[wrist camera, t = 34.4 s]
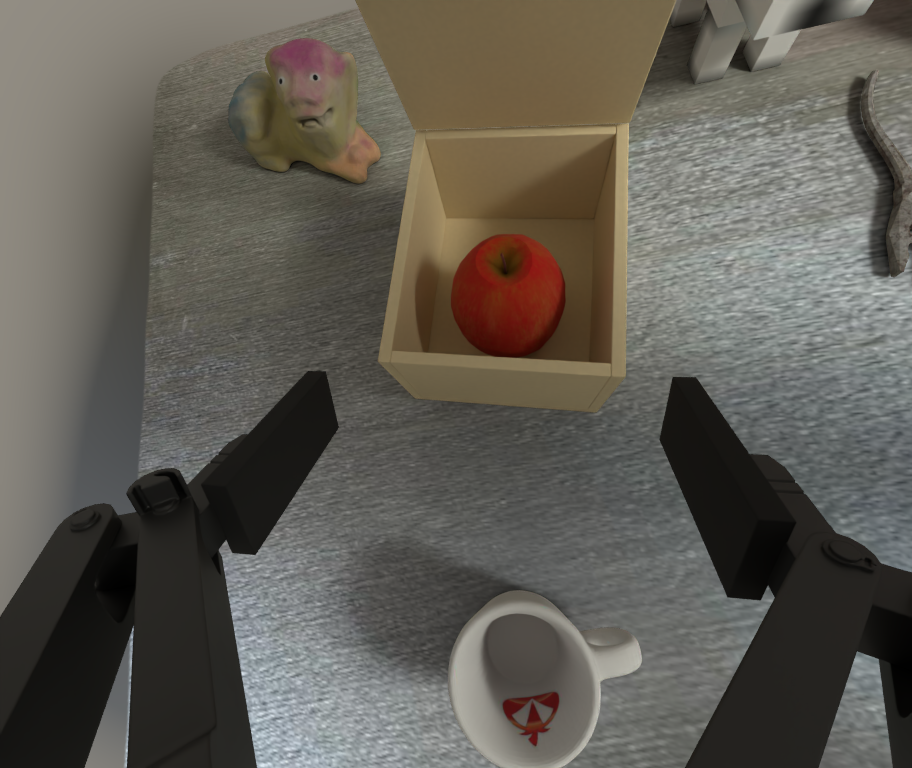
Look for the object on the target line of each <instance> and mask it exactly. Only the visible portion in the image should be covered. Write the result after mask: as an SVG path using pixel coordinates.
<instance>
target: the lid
mask: <svg viewBox="0 0 912 768" xmlns="http://www.w3.org/2000/svg"><path fill="white" fill-rule="evenodd" d="M355 1H356V3H357V5H358V7H359V10H360V12H361V14H362V16H363V18H364V21H365V23H366V25H367V27H368V29H369V32H370V34H371V36H372V38H373V40H374V43H375V45H376V47H377V49H378V51H379V54H380V56H381V58H382V60H383V62H384V65H385V67H386V69H387V71H388V73H389V76H390V78H391V80H392V82H393V84H394V87H395V89H396V91H397V93H398V95H399V98H400V100H401V102H402V104H403V106H404V109H405V111H406V113H407V115H408V117H409V120H410V122H411V124H412V126H413V128H414V130H423V129H453V128H484V127H514V126H545V125H575V124H605V123H630V121H631V119H632V116H633V113H634V111H635V108H636V105H637V103H638V100H639V97H640V95H641V92H642V90H643V87H644V84H645V82H646V79H647V76H648V74H649V71H650V68H651V66H652V63H653V61H654V58H655V55H656V53H657V50H658V47H659V45H660V42H661V40H662V37H663V34H664V32H665V29H666V26H667V24H668V21H669V18H670V16H671V13H672V11H673V8H674V5H675V3H676V0H355Z"/></svg>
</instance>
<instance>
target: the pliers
mask: <svg viewBox="0 0 912 768" xmlns="http://www.w3.org/2000/svg"><path fill="white" fill-rule="evenodd" d="M878 74H879V72H878V70H875V71H872V72H871V74H870V75H869V76H868V78H867V80H866V82H865V85H864V88H863V92H862V98H861V111H862V118H863V122H864V125H865V128H866V130H867V132H868V134H869V136H870V138H871V140H872V141H873V143H874V145H875V146H876V148H877V149H878V151H879V152H880V154H881V156H882V157H883V159H884V160H885V162H886V164H887V165H888V167H889V169H890V171H891V173H892V176H893V178H894V183H895V190H894V191H893V202H894V207H893V209H892V212H891V215H890V219H889V224H888V228H887V233H886V244H887V252H888V259H889V267H890V275H891V277H896V276H897V275H899V274H900V273H902V272H904V269H905V266H906V263H907V261H908V258H909V253H908V250H907V249H908V246H909V244H911V243H912V233H910V230H911V229H912V170H911V168H910V166H909V164H908V163H907V162H906V160H905V159H904V157H903V156H902V154H901V153H900V152H899V151H898V149H897V148H896V147H895V145H894V144H893V143H892V141H891V140H890V139H889V138H888V136H887V135H886V133H885V132H884V130H883V129H882V127H881V126H880V124H879V122H878V120H877V117H876V115H875V111H874V105H873V92H874V86H875V83H876V80H877V77H878Z"/></svg>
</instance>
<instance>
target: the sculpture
mask: <svg viewBox="0 0 912 768" xmlns="http://www.w3.org/2000/svg"><path fill="white" fill-rule="evenodd" d="M265 63H266V66H267V69H268V72H269V74H270V76H269V74H267V73H266V72H264V71H256V72H254V73H252V74H251V75H249V76H248V77H247V78H246V79H245V81H244V83H243V84H241V85H239V86H238V87H237V89H236V90H235V92H234V94H233V97H232V100H231V102H230V104H229V118H228V121H229V125H230V128H231V129H232V131H233V133H234V135H235V136H236V138H237V139H238V141H239V142H240V143H241V145H242V146H243V147H244V149H245V150H246V151H248V152H249V153H250V154H251V155H252V156H253V157H254V159H255V160H256V162H257V163H258V164H259V165H260V166H262V167H264V168H266V169H270V170H274V171H278V172H284V171H287V170H288V169H289V167H290V165H291V163H293V162H295V161H305V162H308V163H310V164H312V165H313V166H315V167H316V168H318V169H320V170H321V171H324V172H328V173H333V174H336V175H338V176H340V177H343V178H345V179H347V180H349V181H351V182H353V183H358V184H359V183H363V182H365V181H366V180H367V169H368V167H370V166H371V165H372V164H373V163H375V162H377V161H378V160H379V159H380V156H381V152H380V149H379V147H378V145H377V144H376V142H375V141H374V140H373V139H372V138H371V137H370V136H369V135H368V134H367V133H366V132H365V131H364V129H363V128H362V127H361V125H360V124H359V123H358V122H357V120H356V116H357V101H358V74H357V67H356V63H355V60H354V57H353V55H352V54H351V53H347V52H337V51H336V50H335V49H333V48H332V47H331V46H329V45H327V44H326V43H324V42H322V41H320V40H316V39H310V38H302V39H295V40H292V41H289V42H287V43H285V44H283V45H279V46H276V47H273V48H271V49H270V50H269V51H268V52H267V54H266V57H265Z"/></svg>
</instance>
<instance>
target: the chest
mask: <svg viewBox="0 0 912 768" xmlns="http://www.w3.org/2000/svg"><path fill="white" fill-rule="evenodd" d="M628 132H629V125H628V124H617V125H616V124H601V125H570V126H540V127H509V128H478V129H447V130H427V131H426V130H416V133H415V139H414V145H413V151H412V157H411V164H410V170H409V176H408V182H407V188H406V194H405V200H404V206H403V212H402V218H401V224H400V230H399V236H398V242H397V248H396V254H395V260H394V266H393V272H392V279H391V285H390V291H389V297H388V303H387V309H386V315H385V321H384V327H383V333H382V339H381V345H380V351H379V357H378V362H379V363H380V364H381V365H382V366H383V367H384V368H385V369H386V370H387V371H388V372H389V373H390V374H391V375H392V376H393V377H394V378H395V379H396V380H397V381H398V382H399V383H400V384H401V385H402V386H403V387H404V388H405V389H406V390H407V391H408V392H409V393H410V394H411V395H412V396H413V397H414V398H415V399H426V400H439V401H452V402H465V403H478V404H491V405H504V406H517V407H530V408H543V409H556V410H569V411H582V412H595V413H596V412H597V411H598V410H599V409H600V408H601V406H602V405H603V404H604V403H605V401H606V400H607V399H608V398H609V397H610V395H611V394H612V393H613V392H614V390H615V389H616V388H617V387H618V386H619V384H620V383H621V382H622V381H623V379H624V378H625V377H626V300H627V216H628ZM497 234H523V235H525V236H527V237H529V238H532V239H534V240H536V241H538V242H540V243H541V244H542V245H543V246H545V247H546V248H547V249H548V250H549V252H550V253H551V254H552V256H553V257H554V259H555V260H556V262H557V264H558V265H559V267H560V269H561V271H562V274H563V277H564V281H565V298H566V303H565V307H564V311H563V314H562V317H561V319H560V322H559V324H558V326H557V328H556V330H555V332H554V333H553V335H552V337H551V338H550V339H549V340H548V341H547V342H546V343H545V344H544V345H543V347H542V348H541V349H539V350H537V351H535V352H533V353H531V354H529V355H527V356H523V357H518V358H509V357H495V356H492V355H489V354H485V353H483V352H482V351H480V350H478V349H477V348H476V347H474V346H473V345H472V344H470V343H469V342H468V340H467V339H466V338H465V337H464V335H463V334H462V332H461V330H460V329H459V327H458V325H457V323H456V321H455V319H454V316H453V312H452V308H451V291H452V284H453V278H454V276H455V273H456V271H457V269H458V266H459V264H460V262H461V261H462V260H463V259H464V258H465V257H466V255H467V254H468V253H469V252H470V251H471V250H472V249H473V248H474V247H475V246H477V245H478V244H479V243H480V242H482V241H483V240H485V239H487V238H489V237H491V236H494V235H497Z"/></svg>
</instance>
